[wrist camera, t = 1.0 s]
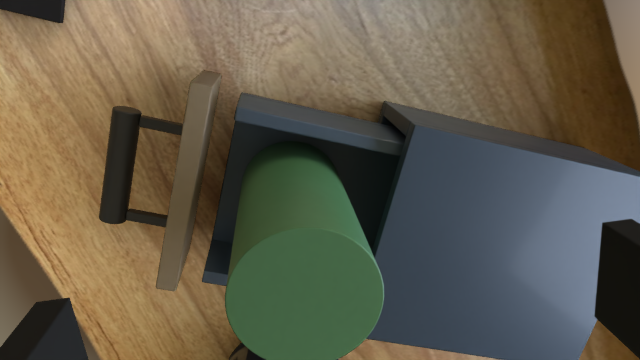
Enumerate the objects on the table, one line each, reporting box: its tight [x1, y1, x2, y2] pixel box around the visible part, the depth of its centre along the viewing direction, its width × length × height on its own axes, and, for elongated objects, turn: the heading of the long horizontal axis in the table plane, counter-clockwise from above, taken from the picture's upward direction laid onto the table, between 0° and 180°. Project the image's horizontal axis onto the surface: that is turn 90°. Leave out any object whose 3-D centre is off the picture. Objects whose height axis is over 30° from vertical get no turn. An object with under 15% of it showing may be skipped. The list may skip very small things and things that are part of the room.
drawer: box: [99, 70, 406, 291], centre depth 32 cm, size 19×13×6 cm, turn 76°
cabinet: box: [366, 101, 640, 360], centre depth 35 cm, size 16×14×8 cm
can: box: [225, 141, 384, 360], centre depth 27 cm, size 7×7×14 cm
